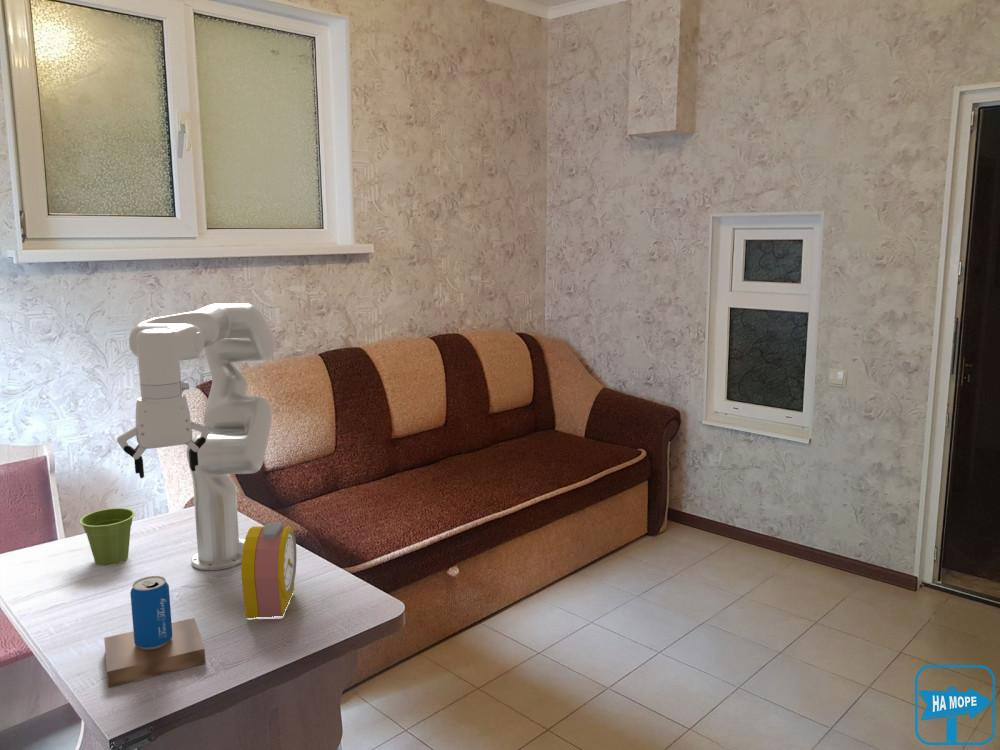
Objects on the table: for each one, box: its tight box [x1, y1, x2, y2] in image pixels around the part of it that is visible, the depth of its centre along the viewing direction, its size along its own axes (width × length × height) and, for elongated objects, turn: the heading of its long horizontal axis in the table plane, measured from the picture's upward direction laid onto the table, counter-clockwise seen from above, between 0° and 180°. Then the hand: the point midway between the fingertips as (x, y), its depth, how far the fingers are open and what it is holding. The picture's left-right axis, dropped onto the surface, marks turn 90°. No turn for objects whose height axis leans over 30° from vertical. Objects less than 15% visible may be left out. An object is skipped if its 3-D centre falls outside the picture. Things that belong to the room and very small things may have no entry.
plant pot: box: [79, 507, 136, 567], centre depth 183 cm, size 12×12×11 cm
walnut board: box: [103, 617, 206, 688], centre depth 142 cm, size 16×13×3 cm
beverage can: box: [129, 575, 173, 650], centre depth 141 cm, size 6×6×12 cm
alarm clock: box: [240, 521, 297, 619], centre depth 161 cm, size 15×8×18 cm, turn 4°
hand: (167, 472), depth 155 cm, fingers open, 9 cm apart
